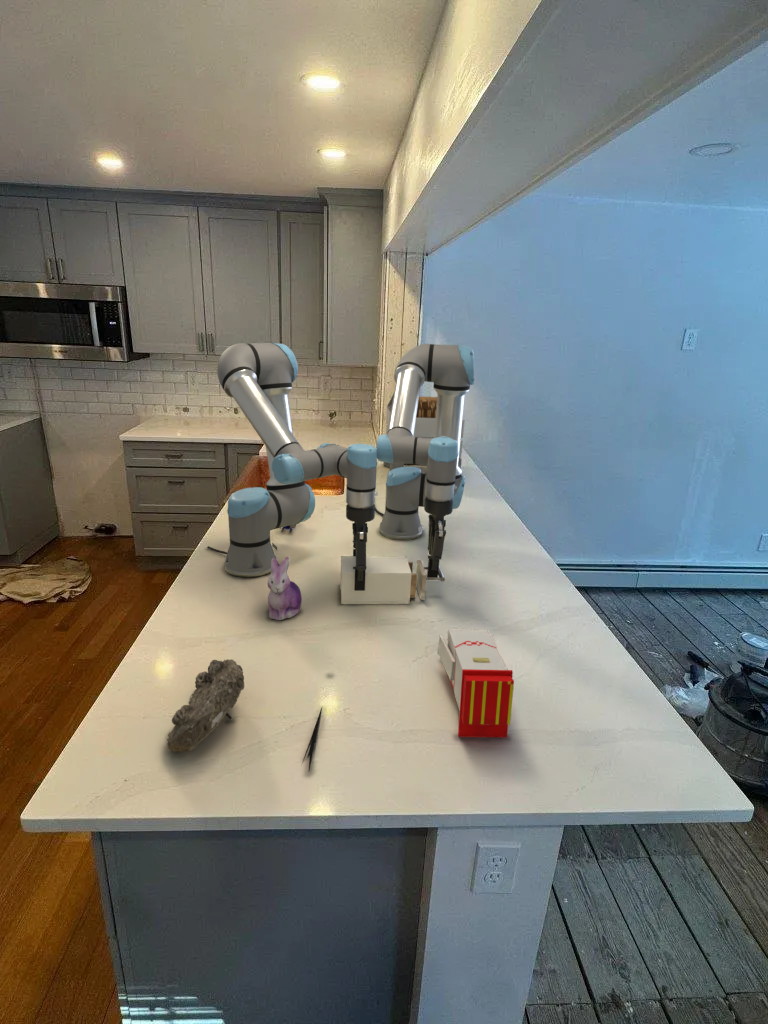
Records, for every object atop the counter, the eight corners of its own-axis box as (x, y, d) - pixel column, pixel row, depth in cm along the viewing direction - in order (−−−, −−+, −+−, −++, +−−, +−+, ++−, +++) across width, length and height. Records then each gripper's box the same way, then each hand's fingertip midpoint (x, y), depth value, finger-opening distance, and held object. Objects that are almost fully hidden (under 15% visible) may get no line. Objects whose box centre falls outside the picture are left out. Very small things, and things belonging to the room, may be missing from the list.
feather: (331, 679, 122) (336, 673, 122) (307, 777, 96) (313, 769, 95) (324, 675, 122) (329, 669, 121) (298, 772, 95) (304, 764, 95)
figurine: (272, 625, 139) (271, 570, 134) (261, 606, 148) (259, 553, 143) (309, 617, 144) (308, 563, 139) (295, 599, 152) (295, 548, 147)
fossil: (192, 660, 117) (244, 628, 112) (224, 691, 120) (276, 661, 115) (142, 746, 98) (202, 712, 93) (182, 779, 101) (242, 748, 96)
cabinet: (404, 585, 163) (406, 556, 160) (409, 604, 153) (411, 573, 150) (340, 585, 161) (341, 555, 158) (341, 604, 151) (342, 573, 148)
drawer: (437, 583, 163) (439, 559, 161) (444, 599, 154) (446, 575, 152) (359, 583, 161) (360, 559, 158) (361, 600, 152) (362, 575, 149)
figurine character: (295, 538, 195) (300, 518, 208) (295, 519, 192) (300, 500, 205) (276, 538, 195) (282, 518, 208) (275, 518, 191) (281, 499, 205)
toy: (488, 613, 130) (523, 677, 101) (484, 667, 133) (517, 744, 104) (435, 612, 130) (455, 676, 101) (432, 666, 133) (451, 743, 103)
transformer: (382, 463, 289) (386, 382, 275) (445, 464, 293) (451, 384, 279) (390, 482, 257) (394, 392, 243) (460, 483, 261) (468, 394, 247)
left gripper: (378, 520, 137) (375, 600, 144) (371, 490, 159) (369, 561, 166) (347, 520, 136) (346, 601, 144) (345, 490, 158) (343, 561, 165)
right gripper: (458, 506, 143) (450, 589, 151) (448, 490, 155) (441, 568, 163) (429, 505, 142) (422, 589, 150) (421, 489, 155) (415, 568, 163)
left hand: (358, 580), depth 155 cm, fingers closed on cabinet, 11 cm apart
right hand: (432, 578), depth 157 cm, fingers closed
